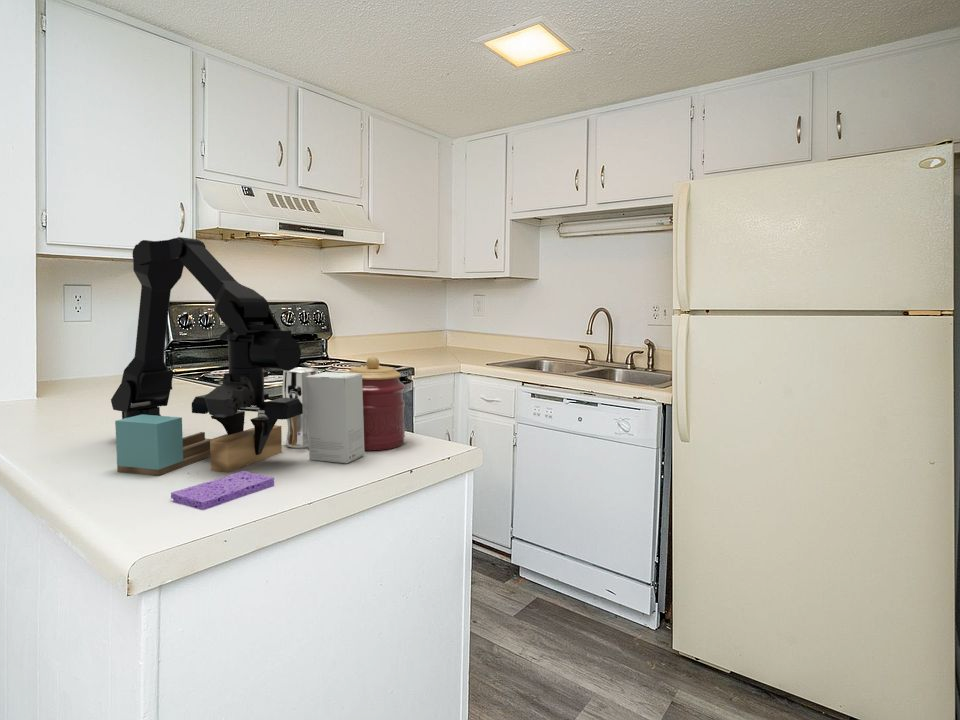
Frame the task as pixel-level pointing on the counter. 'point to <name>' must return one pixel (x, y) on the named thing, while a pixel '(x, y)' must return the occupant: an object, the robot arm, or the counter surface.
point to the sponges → (222, 490)
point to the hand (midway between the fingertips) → (248, 453)
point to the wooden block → (242, 449)
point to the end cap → (149, 441)
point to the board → (193, 451)
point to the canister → (381, 406)
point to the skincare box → (335, 416)
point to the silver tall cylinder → (297, 389)
